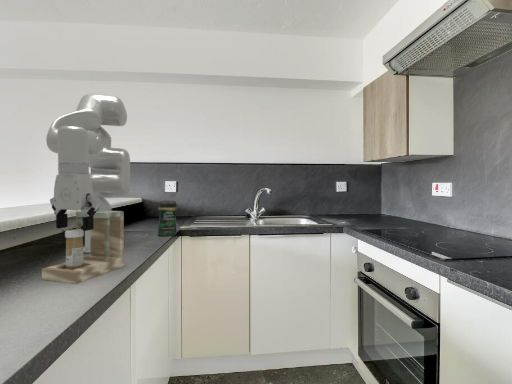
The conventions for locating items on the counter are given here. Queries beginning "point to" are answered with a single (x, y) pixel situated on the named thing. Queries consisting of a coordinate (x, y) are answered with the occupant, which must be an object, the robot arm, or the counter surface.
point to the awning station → (95, 249)
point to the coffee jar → (167, 218)
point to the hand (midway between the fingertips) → (75, 228)
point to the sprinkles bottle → (74, 248)
